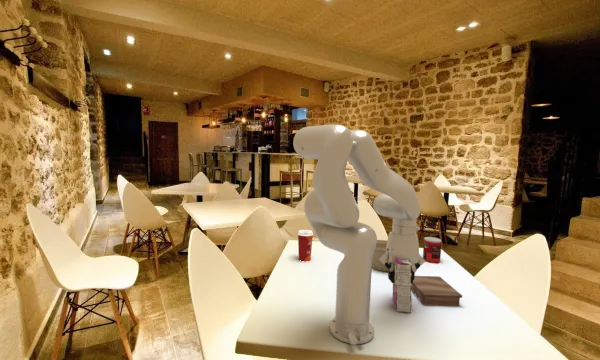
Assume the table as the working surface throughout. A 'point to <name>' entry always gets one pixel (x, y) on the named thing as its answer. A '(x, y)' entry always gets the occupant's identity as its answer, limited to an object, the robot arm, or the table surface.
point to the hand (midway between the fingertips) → (401, 281)
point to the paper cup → (305, 244)
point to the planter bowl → (380, 255)
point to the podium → (435, 291)
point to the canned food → (432, 250)
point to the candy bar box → (402, 285)
